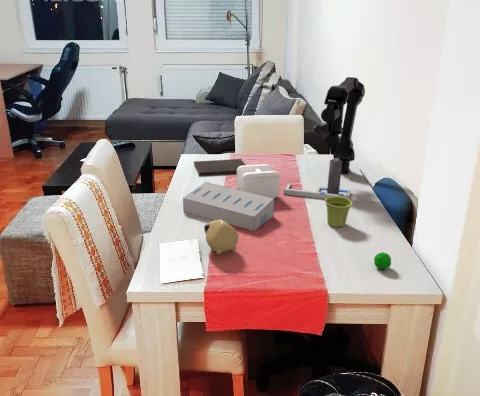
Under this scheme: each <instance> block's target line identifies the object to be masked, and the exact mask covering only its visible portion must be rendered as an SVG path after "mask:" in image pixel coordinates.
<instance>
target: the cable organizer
mask: <svg viewBox="0 0 480 396" xmlns="http://www.w3.org/2000/svg"><path fill="white" fill-rule="evenodd" d="M280 183H281V174H280V173H279V172H278V171H277V170H273V169H272V166H271V165H270V164H267V163H266V164H265V163H263V164H248V165H247V164H245V165H243V166H239V167H238V168H237V174H236V189H237V190H241V191H246V192H250V193H254V194H258V195H262V196H267V197H271V198H274V199H275V198H278V197H279V194H280Z"/></svg>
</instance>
